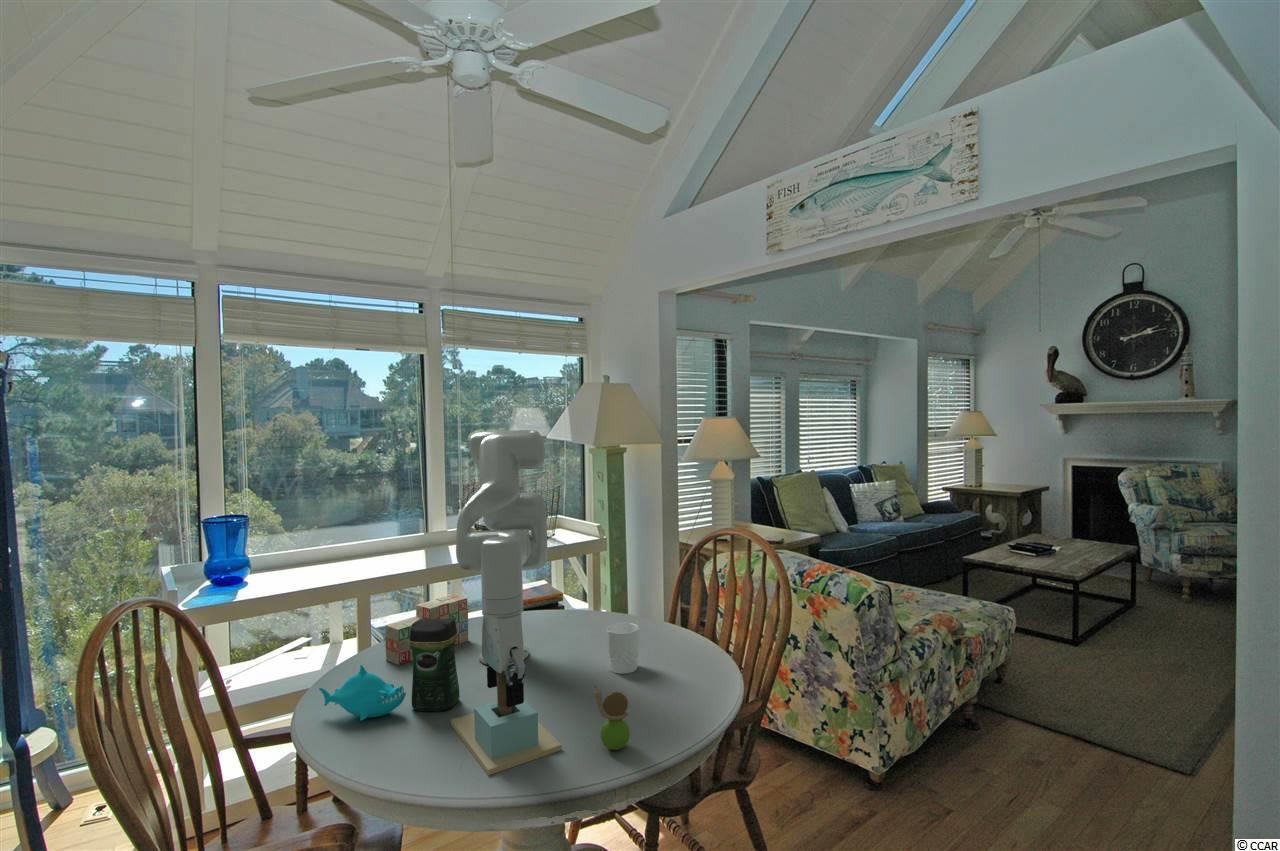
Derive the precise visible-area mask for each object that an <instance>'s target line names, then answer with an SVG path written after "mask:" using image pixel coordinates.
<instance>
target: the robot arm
mask: <svg viewBox="0 0 1280 851" xmlns="http://www.w3.org/2000/svg"><path fill="white" fill-rule="evenodd" d="M468 447H469V452H470V455H471V458H472V460H473V462H474V464H475V466H476V468H477V469H478V472H479V473H478V474H479V476H478V477H479V482H478V483H479V484H478V485H479V486H478V487H479V490H478V491H477V492H476V493H474V494H473V495H471V497H470V498H469V500H467V502H466V503H465V505H464V506H463V507H462V509H461V511H460V513H459V515H458V519H457V523H456V536H455V537H456V540H455V541H456V542H455V556H456V561H457V564H458V566H460V568H462V569H463V570H465V571H479V570H480V577H481V578H480V579H481V587H480V588H481V615H482V617H483V618H482V625H481V626H482V630H481V631H482V632H481V633H482V636H481V651H480V652H479V654H478V660H479V662H480V663H482V664H484V665H486V680H487V681H486V683H487V684H486V685H487V688H488V689H493V688H497V675H496V671H497V672H498V673H502V672H503V671H504V672H505V675H506V679H507V683H508V684H506V706H507V707H512V706H516V705H519V704H522V703H523V702H524V700H525V694H524V692H525V691H524V690H525V689H524V683H525V676H526V674H525V670H526V664H525V662H524V661H525V659H526V658H527V657H528V656H529V648H528V647H527V646H525V645H524V634H523V622H522V620H523V618H522V613H523V612H524V594H523V593H524V591H523V590H524V587H523V586H524V585H523V584H524V583H523V571H532V570H533V571H534V570H535V571H536V570H540V569H542V568H544V567H545V566H546V564H547V562H548V551H549V550H548V548H549V547H548V520H547V519H548V518H547V517H548V516H547V504H546V501H545V498H544V496H543V495H542V494H541V493H540V492H539V493H538V492H533V491H528V492H521V490H520V489H521V488H520V475H519V473H520V471H519V470H536V469H537V470H538V469H540V468H542V466H543V465H544V463H545V458H546V448H545V443H544V439H543V437H542V435H541V433H540V432H539V431H538V430H535V429H519V430H518V429H517V430H515V429H514V430H509V429H507V430H503V429H502V430H485V431H479V432H476V433H474V434H472V435H471V436H470V438H469V441H468ZM482 518H483V522H484V525H485V527H486V529H487V530H475V531H472V529H473V526H474V525H475V524H476V523H477V522H478V521H479V520H481V519H482ZM524 530H527V531H528V532H525V531H524ZM508 665H510V667H508ZM510 672H511V674H510ZM512 672H513V674H512Z"/></svg>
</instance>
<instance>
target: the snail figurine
mask: <svg viewBox="0 0 1280 851" xmlns="http://www.w3.org/2000/svg"><path fill="white" fill-rule="evenodd" d="M597 687H598V686H597V684H596V683H594V685H593V688H594V692H593V694H594V698H595V703H596V708H597V709H598V712H599V714H600V715H601V717H603V718H604V719H607V720H605V722H604V723H603V724H602V726H601V727H600V732H599V733H600V739H601V742H602V744H603V745H604V747H606V748H607V749H609V750H611V751H617V750H621V749H623V748H624V747H625V746H626V745H627V744H628V742H629V740H630V736H631V735H630V734H631V733H630V726H629V725H628V723H627V722H626V721H625V720H624V719H625V718H626V717H627V716H628V715H629V712H628V711H627V710H628V706H629V700H628V698H627V696H626V695H625V694H624V693H622V692H619V691H614V692H611V693H609V694H608V695H606V696H605V698H604V700H603V699H602V695H603V693H602V690H596V689H597Z"/></svg>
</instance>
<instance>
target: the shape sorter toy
mask: <svg viewBox="0 0 1280 851" xmlns="http://www.w3.org/2000/svg"><path fill="white" fill-rule="evenodd" d="M538 713H539V712H538V711H537V710H536V709H535V708H533V707H532V705H530V704H529V703H528V702H527V701H526V700H525V699H524V702H523V703H522V704H519V705H516V706H512V714H509V715H506V716H503V717H498V700H497V701H493V702H489V703H486V704H482V705H478V706H476V707H473V712H472V713H469V714H466V715H463V716H459V717H455V718H452V719H450V726H451V727H452V728H453V730H454V731H455V732H456V734H457V736H459V737H460V739H461V740H462V742H463V743H464V745H465V746H466V747H467V749H468V750H469V751H470V752H471V754H472V755H473V757H474V758H475V760H476V761H477V762H478V763H479V765H480V766H481V768H482V769H483V771H484V772H485V773H486V774H487V776H491V775H493V774H496V773H499V772H502V771H505V770H508V769H510V768H511V769H512V768H513V767H517V766H520V765H522V764H526V763H529V762H530V761H531V762H532V761H535V760H537V759H540V758H543V757H545V756H548V755H552V754H553V753H557V752H560V751H562V750H563V749H562V748H563V746H562V743H560V742H559V740H557V739H556V738H555V737H554V736H553V734H551V733H550V732H549V731H548V730H547V729H546V728H545V727H544V726H543V725H542V724H541V723H540V722H539V717H538V716H539V714H538Z"/></svg>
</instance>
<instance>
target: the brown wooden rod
mask: <svg viewBox="0 0 1280 851" xmlns="http://www.w3.org/2000/svg"><path fill="white" fill-rule="evenodd" d="M510 666H511V665H508V667H510ZM510 674H511V675H512V671H511V672H510ZM496 675H497V687H496V693H497V694H496V695H497V701H498V717H503V716H506V715H509V714H512V707H507V706H506V684H508V683H507V679H506V675H505V672H504V671H503V672H502V673H498V672H497V671H496Z"/></svg>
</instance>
